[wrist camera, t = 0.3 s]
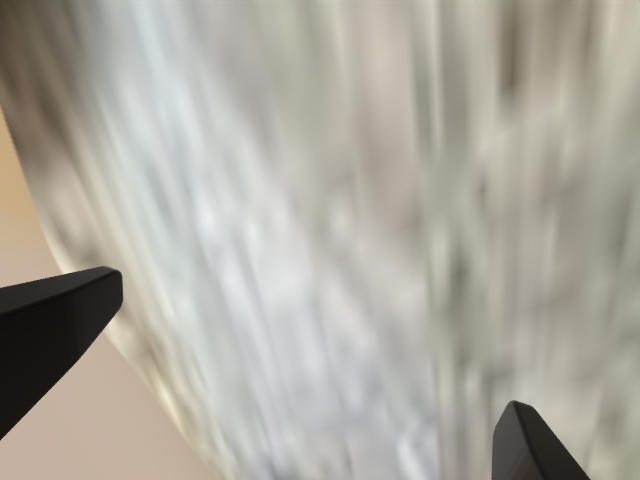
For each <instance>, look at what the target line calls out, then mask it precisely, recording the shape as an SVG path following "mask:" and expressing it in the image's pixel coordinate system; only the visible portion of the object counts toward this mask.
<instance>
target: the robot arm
mask: <svg viewBox="0 0 640 480" xmlns="http://www.w3.org/2000/svg"><path fill="white" fill-rule="evenodd" d="M122 303H123V280H122V274H121V272H120V271H118V270H116V269H113V268H110V267H106V266H101V267H96V268H92V269H87V270H82V271H78V272H73V273H68V274H63V275H59V276H54V277H50V278H45V279H40V280H35V281H31V282H26V283H22V284H17V285H12V286H7V287H3V288H0V440H1V439H2V438H3V437H4V436H5V435H6V434H7V433H8V432H9V431H10V430H11V429H12V428H13V427H14V426H15V425H16V424H17V422H19V421H20V420H21V418H22V417H24V416H25V415H26V414H27V413H28V411H30V409H31V408H32V407H33V406H34V405H35V404H36V403H37V402H38V401H39V400H40V399H41V398H42V397H43V396H44V395H45V394H46V393H47V392H48V391H49V390H50V389H51V388H52V387H53V386H54V385H55V384H56V383H57V382H58V381H59V380H60V379H61V378H62V377H63V376H64V375H65V374H66V372H68V370H69V369H70V368H71V367H72V366H73V365H74V364H75V363H76V362H77V361H78V360H79V359H80V358H81V356H82V355H83V354H84V353H85V352H86V351H87V349H88V348H89V346H91V344H92V343H93V342H94V341H95V339H96V338H97V337H98V336H99V334H100V333H101V332H102V331H103V329H104V328H105V327H106V326H107V324H108V323H109V322H110V321H111V319H112V318H113V317H114V316H115V314H116V313H117V312H118V311H119V309H120V307H121V305H122ZM492 480H590V478H589V477H588V476H587V475H586V473H585V472H584V471H583V470H582V468H581V467H580V466H579V464H578V463H577V462H576V461H575V459H574V458H573V457H572V456H571V454H570V453H569V452H568V450H567V449H566V448H565V447H564V445H563V444H562V443H561V442H560V440H559V439H558V438H557V436H556V435H555V434H554V433H553V431H552V430H551V429H550V428H549V426H548V425H547V424H546V422H545V421H544V420H543V419H542V417H541V416H540V415H539V414H538V412H537V411H536V410H535V409H534V408H533V407H532V406H530V405H527V404H524V403H521V402H518V401H515V400H513V401H510V402H509V403H508V405H507V406H506V408H505V410H504V412H503V414H502V416H501V417H500V419H499V421H498V423H497V425H496V427H495V430H494V434H493V450H492Z"/></svg>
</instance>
